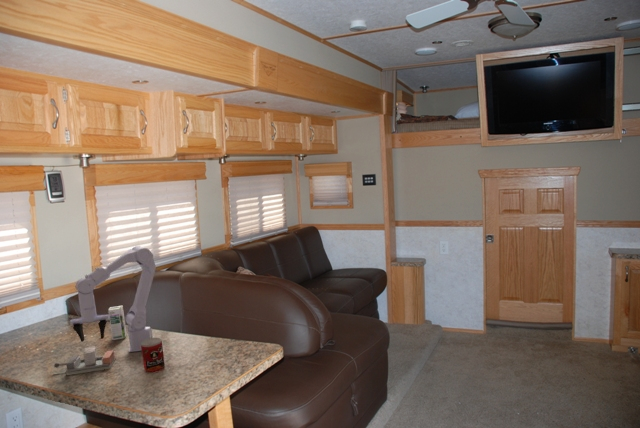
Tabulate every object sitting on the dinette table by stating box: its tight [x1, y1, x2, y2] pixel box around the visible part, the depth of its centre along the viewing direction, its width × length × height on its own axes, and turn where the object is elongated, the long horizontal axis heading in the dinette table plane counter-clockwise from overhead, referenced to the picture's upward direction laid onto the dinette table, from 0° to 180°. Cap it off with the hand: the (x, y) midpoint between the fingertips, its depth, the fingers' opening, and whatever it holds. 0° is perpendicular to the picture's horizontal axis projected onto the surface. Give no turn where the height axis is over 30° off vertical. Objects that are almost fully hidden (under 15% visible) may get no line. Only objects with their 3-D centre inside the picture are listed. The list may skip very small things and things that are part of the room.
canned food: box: [141, 337, 166, 374], centre depth 194 cm, size 8×8×11 cm
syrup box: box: [107, 305, 127, 341], centre depth 234 cm, size 6×6×14 cm
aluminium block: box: [83, 345, 98, 367], centre depth 201 cm, size 4×7×6 cm, turn 21°
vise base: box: [53, 354, 116, 376], centre depth 201 cm, size 22×10×4 cm, turn 100°
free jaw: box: [102, 349, 116, 365], centre depth 203 cm, size 3×8×3 cm, turn 10°
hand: (92, 339), depth 206 cm, fingers open, 7 cm apart
